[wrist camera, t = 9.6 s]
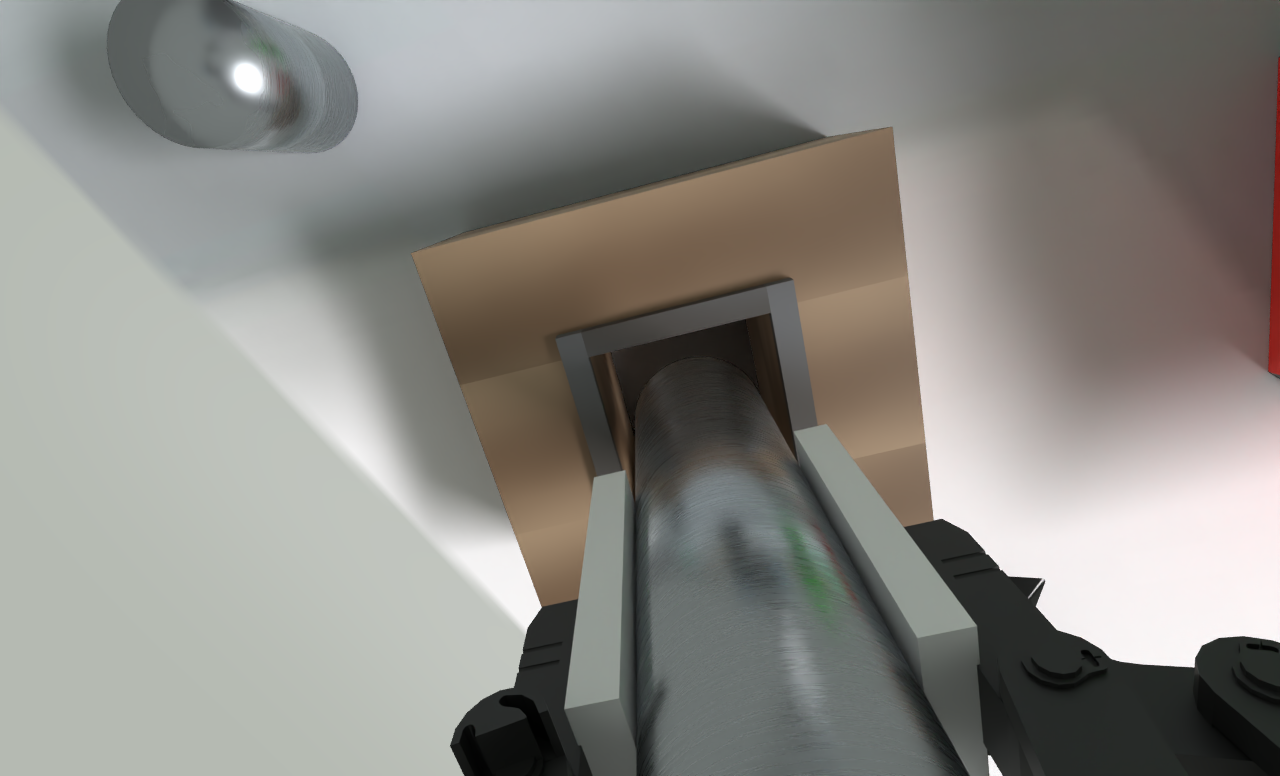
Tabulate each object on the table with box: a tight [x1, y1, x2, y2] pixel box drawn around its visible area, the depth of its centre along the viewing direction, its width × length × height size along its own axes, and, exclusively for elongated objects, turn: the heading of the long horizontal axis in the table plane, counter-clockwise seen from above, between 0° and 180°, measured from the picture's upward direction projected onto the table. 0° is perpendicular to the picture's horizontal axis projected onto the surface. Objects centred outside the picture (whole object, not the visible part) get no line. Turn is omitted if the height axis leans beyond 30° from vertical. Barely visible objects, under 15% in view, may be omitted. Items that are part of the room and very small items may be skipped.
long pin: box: [635, 357, 970, 776], centre depth 13 cm, size 4×4×14 cm
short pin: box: [107, 0, 358, 153], centre depth 19 cm, size 4×4×6 cm
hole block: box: [411, 127, 934, 607], centre depth 22 cm, size 14×14×6 cm
